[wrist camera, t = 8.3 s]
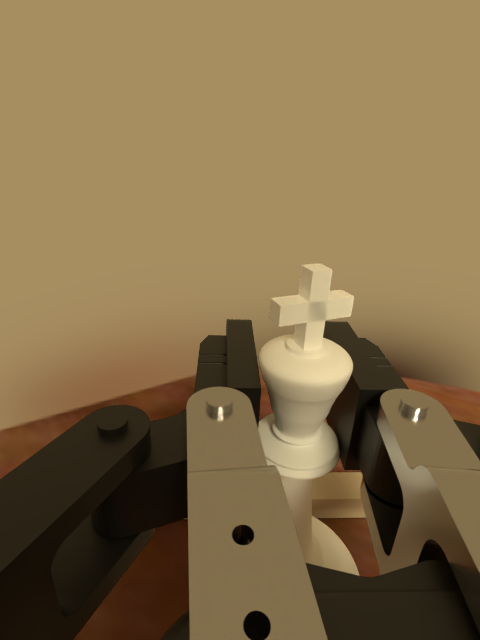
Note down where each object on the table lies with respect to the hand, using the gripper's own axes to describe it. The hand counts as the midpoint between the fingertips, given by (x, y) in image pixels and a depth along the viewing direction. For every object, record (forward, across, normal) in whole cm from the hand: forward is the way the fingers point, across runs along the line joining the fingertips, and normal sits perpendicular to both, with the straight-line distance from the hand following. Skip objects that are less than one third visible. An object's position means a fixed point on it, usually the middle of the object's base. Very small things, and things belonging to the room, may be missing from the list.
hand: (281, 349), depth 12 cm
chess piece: (-3, 0, +7) cm, 7 cm away
